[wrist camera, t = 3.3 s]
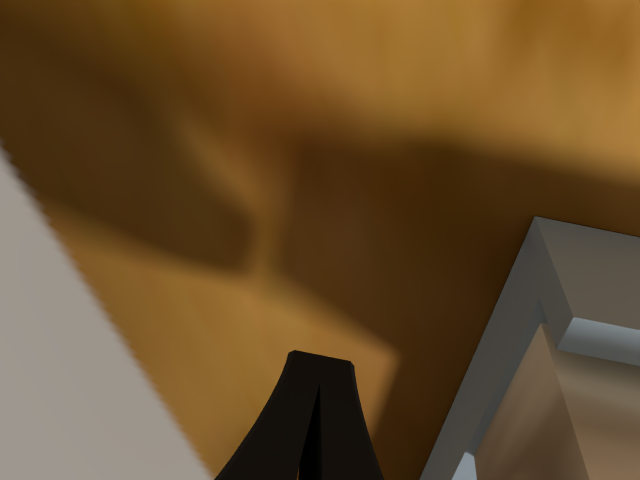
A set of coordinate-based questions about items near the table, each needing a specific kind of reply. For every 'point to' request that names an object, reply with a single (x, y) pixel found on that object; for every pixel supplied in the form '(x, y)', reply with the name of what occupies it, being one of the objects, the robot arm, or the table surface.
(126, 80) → the table surface
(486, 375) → the trap box
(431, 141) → the table surface
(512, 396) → the beech block
